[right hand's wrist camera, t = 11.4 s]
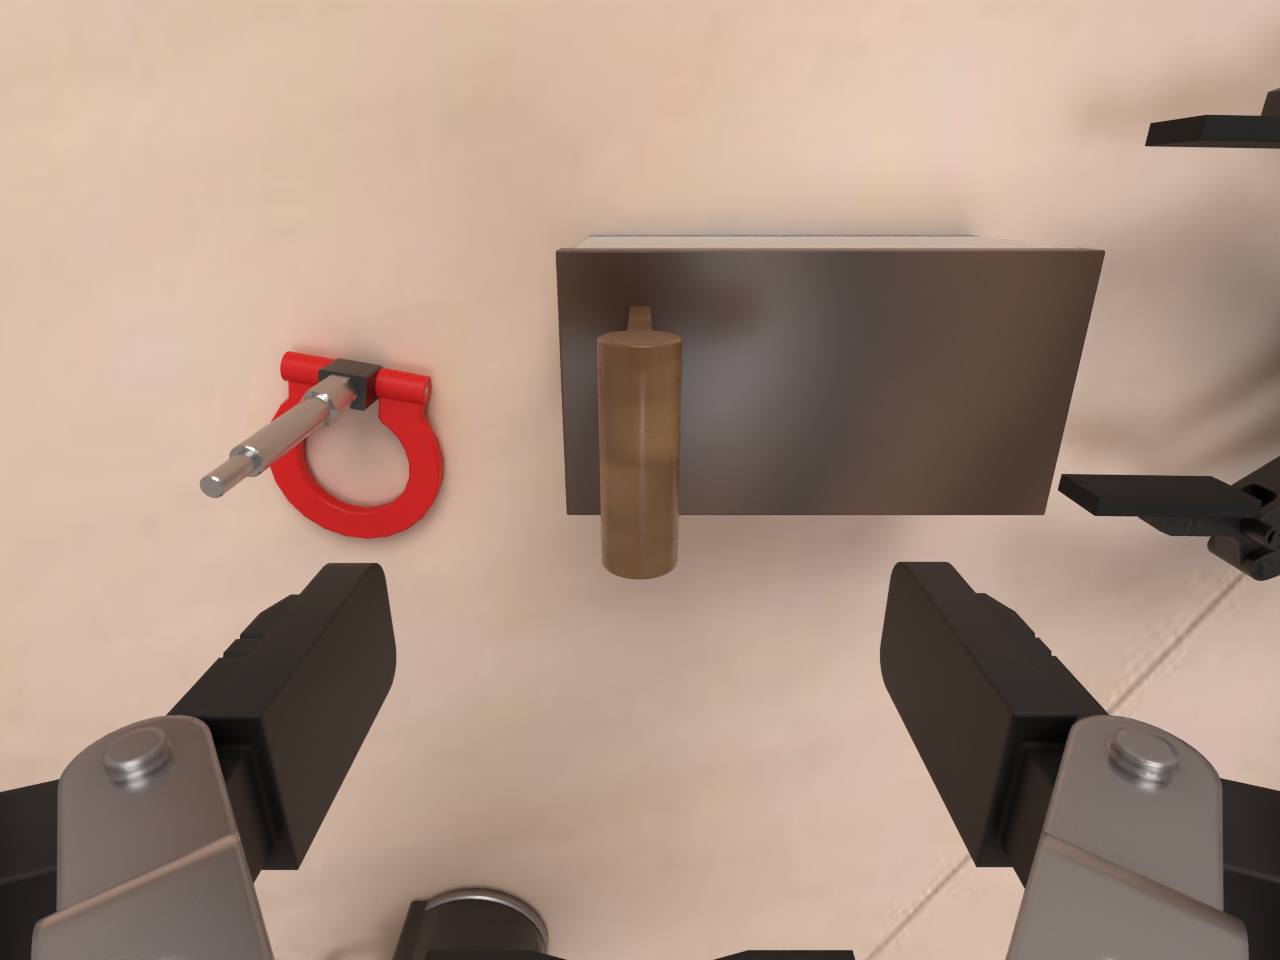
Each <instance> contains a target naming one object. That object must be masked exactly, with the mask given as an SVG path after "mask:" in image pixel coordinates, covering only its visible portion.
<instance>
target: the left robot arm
mask: <svg viewBox="0 0 1280 960" xmlns="http://www.w3.org/2000/svg"><path fill="white" fill-rule="evenodd" d="M1145 146H1164V147H1221V148H1278V149H1280V88H1278V89H1275V90H1273V91H1270V92H1268V94H1267V97H1266V100H1265V104H1264V107H1263V110H1262V114H1261V116H1239V115H1202V116H1196V117H1189V118H1182V119H1176V120H1169V121H1163V122H1156V123H1151V124H1150V128H1149V132H1148V136H1147V140H1146V144H1145ZM1058 491H1060V492H1061V493H1063V494H1064V495H1066V496H1067V497H1068V498H1070V499H1071V500H1073V501H1074V502H1076V503H1077V504H1079V505H1080V506H1081V507H1083V508H1084V509H1086V510H1087V511H1089V512H1090V513H1091V514H1093V515H1094V516H1138V517H1139V518H1140V519H1142V520H1143V521H1145V522H1146V523H1148V524H1150V525H1151V526H1153V527H1154V528H1156V529H1157V530H1159V531H1161V532H1163V533H1165V534H1168V535H1170V536H1212V537H1211V538H1210V539H1209V541H1208V546H1207V548H1208V549H1209V551H1210V552H1211V553H1213V554H1215V555H1216V556H1218V557H1219V558H1221V559H1223V560H1224V561H1226V562H1227V563H1229V564H1231V565H1232V566H1234V567H1236V568H1237V569H1239V570H1240V571H1242V572H1244V573H1245V574H1247V575H1249V576H1250V577H1252V578H1254V579H1255V580H1259V581H1263V580H1268V579H1270V578H1273V577H1276V576H1279V575H1280V456H1279V457H1277V458H1276V459H1274V460H1272V461H1271V462H1269V463H1267V464H1266V465H1264V466H1262V467H1261V468H1259V469H1258V470H1256V471H1254V472H1253V473H1251V474H1249V475H1248V476H1246V477H1244V478H1243V479H1241V480H1239V481H1238V482H1236V483H1234V484H1233V485H1231V486H1230V485H1228V484H1226V483H1224V482H1222V481H1220V480H1218V479H1216V478H1214V477H1212V476H1157V475H1090V474H1062V475H1061V479H1060V483H1059V487H1058Z"/></svg>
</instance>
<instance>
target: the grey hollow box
mask: <svg viewBox="0 0 1280 960" xmlns="http://www.w3.org/2000/svg"><path fill="white" fill-rule="evenodd" d="M575 248H1078V247H1069V246H1060V245H1051V244H1042V243H1032V242H1023V241H1014V240H1005V239H996V238H987V237H979V236H972V235H591V236H589V238H588V239H586V240H585V241H583V242H582V243H581V244H579V245H578V246H577V247H575Z"/></svg>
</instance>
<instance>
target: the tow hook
mask: <svg viewBox="0 0 1280 960" xmlns="http://www.w3.org/2000/svg"><path fill="white" fill-rule="evenodd" d="M280 371H281V376H282V378H283V380H285V381H289V398H288V399H287V400H286V401H285V402H284V403H283V404H281V406H280V408H279V409H278V411H277V413H276V414H275V416H274V418H273V419H272V421H271V423H270V424H268V425H267V426H265V427H264V428H262V429H261V430H259V431H258V432H256V433H255V434H254V435H252V436H251V437H249V438H248V439H246V440H245V441H243V442H242V443H240V444H239V445H238V446H236V447H235V448H233V449H232V450H231V452H230V455H229V460H227V461H226V462H225V463H223V464H222V465H220V466H219V467H217V468H216V469H215V470H213V471H212V472H210V473H209V474H208V475H206V476H205V477H203V478H202V479H201V481H200V488H201V490H202V491H203V492H204V493H205V494H206V495H207V496H209V497H212V498H218V497H221V496H222V495H224V494H225V493H226V492H227V491H229V490H230V489H231V488H233V487H234V486H235V485H236V484H238V483H239V482H240V481H242V480H243V479H244V478H245V477H255V476H258V475H260V474H261V473H262V472H263V471H265V470H266V469H267V468H268V467H271V470H272V473H273V476H274V478H275V481H276V483H277V485H278V486H279V488H280V489H281V491H282V492H283V494H284V495H285V496H286V498H287V499H288V501H289V502H290V503H291V504H292V505H293V506H294V507H295V508H296V509H298V510H299V511H300V512H301V513H302V514H303V515H304V516H305V517H306V518H308V519H310V520H311V521H313V522H315V523H316V524H318V525H320V526H321V527H323V528H325V529H327V530H330V531H333V532H336V533H339V534H341V535H344V536H350V537H358V538H366V539H369V538H379V537H388V536H391V535H393V534H396V533H399V532H401V531H404V530H407V529H408V528H409V527H411V526H412V525H413V524H415V523H416V522H417V521H419V520H420V519H421V518H422V517H423V516H424V515H425V513H426V512H427V511H428V509H429V508H430V506H431V505H432V504H433V502H434V501H435V499H436V498H437V495H438V492H439V489H440V486H441V483H442V480H443V458H442V454H441V450H440V446H439V442H438V439H437V437H436V435H435V433H434V432H433V430H432V428H431V426H430V424H429V423H428V421H427V419H426V418H425V405H426V404H427V403H428V400H429V397H430V393H431V378H430V377H429V376H423V375H418V374H412V373H407V372H401V371H396V370H390V369H384V368H383V367H382V366H380V365H374V364H369V363H363V362H358V361H352V360H347V359H341V358H338V359H336V360H335V359H329V358H323V357H318V356H312V355H307V354H301V353H296V352H290V351H288V352H286V353H285V354H284V356H283V358H282V361H281V367H280ZM378 398H379V419H380V421H381V422H382V423H383V424H384V425H386V426H387V427H388V428H389V429H390V430H391V431H392V432H393V433H394V434H395V435H396V436H397V437H398V438H399V440H400V442H401V443H402V445H403V447H404V449H405V450H406V454H407V457H408V461H409V480H408V483H407V486H406V489H405V491H404V492H403V493H402V495H400V496H399V497H398V498H396V499H395V500H394V501H393V502H390V503H387V504H385V505H382V506H377V507H368V508H367V507H359V506H352V505H350V504H347V503H344V502H341V501H339V500H337V499H336V498H334V497H333V496H331V495H329V494H328V493H326V492H325V491H324V490H323V489H322V488H321V487H320V486H319V485H318V484H317V483H316V481H315V480H314V478H313V477H312V475H311V474H310V472H309V470H308V467H307V464H306V461H305V459H304V446H303V445H304V440H305V438H306V437H307V436H308V435H310V434H311V433H312V432H313V431H315V430H316V429H317V428H318V427H320V426H329V425H330V424H332V423H333V422H334V421H335V420H337V419H338V418H339V417H340V416H341V415H343V414H344V413H345V412H346V411H347V410H349V409H350V408H351V409H356V410H362V411H364V410H366V409H367V408H368V407H369V406H370V405H371V404H373V403H374V402H375V401H376V400H377V399H378Z"/></svg>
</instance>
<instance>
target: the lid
mask: <svg viewBox="0 0 1280 960" xmlns="http://www.w3.org/2000/svg"><path fill="white" fill-rule="evenodd" d="M1104 255H1105V251H1104V250H1096V249H1087V248H561V249H559V250H557V251H556V269H557V293H558V317H559V340H560V364H561V388H562V412H563V435H564V459H565V483H566V506H567V514H568V515H601V539H602V563H603V565H604V567H605V568H606V569H607V570H608V571H609V572H611V573H613V574H615V575H617V576H620V577H624V578H630V579H649V578H655V577H659V576H662V575H665V574H667V573H669V572H670V571H671V570H673V569H674V568H675V566H676V564H677V556H678V515H1044V514H1045V509H1046V505H1047V501H1048V496H1049V492H1050V488H1051V484H1052V479H1053V475H1054V471H1055V466H1056V462H1057V458H1058V453H1059V449H1060V445H1061V440H1062V436H1063V432H1064V427H1065V423H1066V419H1067V415H1068V410H1069V406H1070V402H1071V397H1072V393H1073V389H1074V384H1075V380H1076V376H1077V371H1078V367H1079V363H1080V358H1081V354H1082V350H1083V346H1084V341H1085V337H1086V333H1087V328H1088V324H1089V320H1090V315H1091V311H1092V307H1093V302H1094V298H1095V294H1096V289H1097V285H1098V281H1099V277H1100V272H1101V268H1102V264H1103V259H1104Z"/></svg>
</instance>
